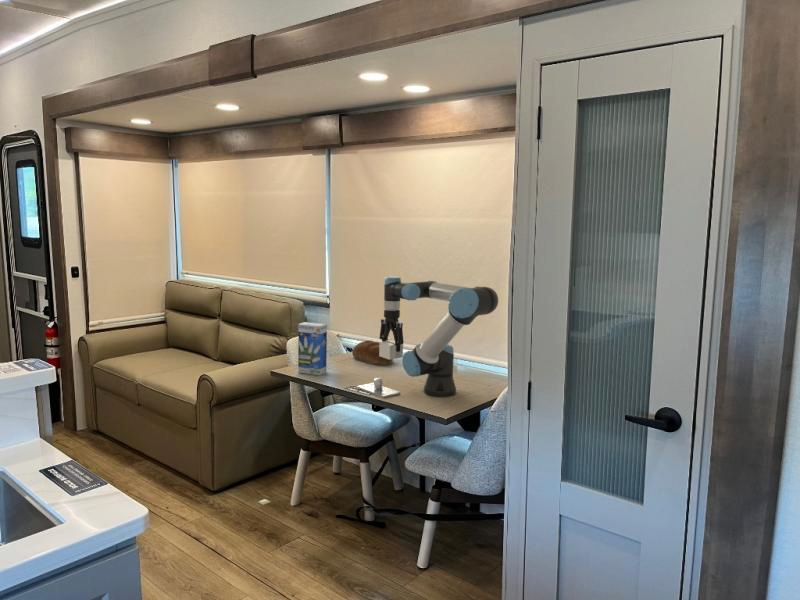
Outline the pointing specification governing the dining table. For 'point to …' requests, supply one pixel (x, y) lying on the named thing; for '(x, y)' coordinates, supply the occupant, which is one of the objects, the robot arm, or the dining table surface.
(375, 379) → the duct stub
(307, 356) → the string lights box
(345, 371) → the dining table surface
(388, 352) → the white cardboard box
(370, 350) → the bread
